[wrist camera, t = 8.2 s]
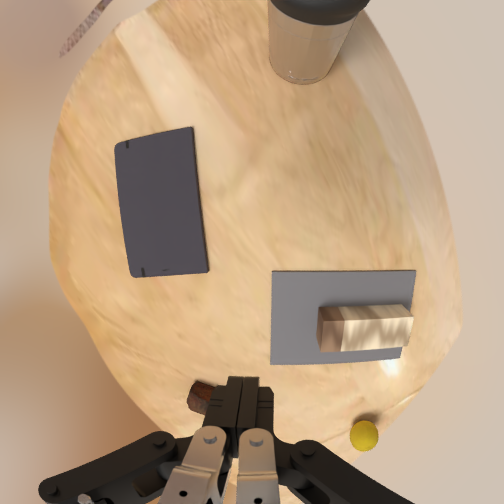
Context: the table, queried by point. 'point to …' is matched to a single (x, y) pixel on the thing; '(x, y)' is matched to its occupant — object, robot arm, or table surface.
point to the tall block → (363, 327)
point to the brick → (199, 397)
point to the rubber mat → (329, 295)
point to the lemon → (364, 436)
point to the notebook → (161, 204)
